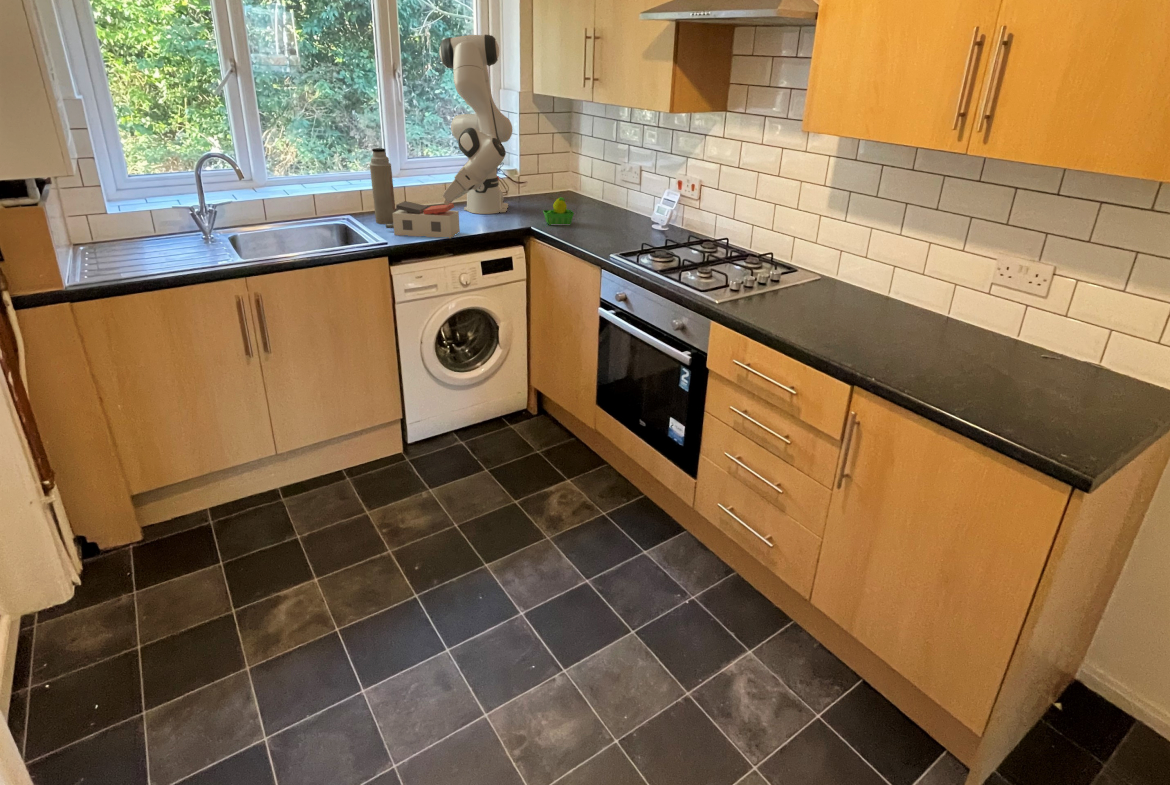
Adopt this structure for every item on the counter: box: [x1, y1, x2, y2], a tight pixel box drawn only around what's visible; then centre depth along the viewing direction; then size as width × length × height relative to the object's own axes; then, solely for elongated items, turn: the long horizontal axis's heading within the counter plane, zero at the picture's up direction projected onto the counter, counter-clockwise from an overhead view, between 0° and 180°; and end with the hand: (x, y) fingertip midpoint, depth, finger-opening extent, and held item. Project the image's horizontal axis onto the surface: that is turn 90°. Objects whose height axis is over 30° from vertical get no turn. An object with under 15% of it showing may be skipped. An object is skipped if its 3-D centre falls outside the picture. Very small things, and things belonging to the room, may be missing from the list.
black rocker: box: [395, 200, 429, 214], centre depth 265 cm, size 8×9×2 cm
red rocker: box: [423, 202, 455, 214], centre depth 263 cm, size 8×9×2 cm
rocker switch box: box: [385, 209, 461, 239], centre depth 267 cm, size 10×27×8 cm, turn 81°
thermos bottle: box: [369, 147, 397, 225], centre depth 279 cm, size 8×8×28 cm
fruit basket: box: [542, 196, 574, 225], centre depth 283 cm, size 11×9×11 cm
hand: (446, 203), depth 262 cm, fingers closed
